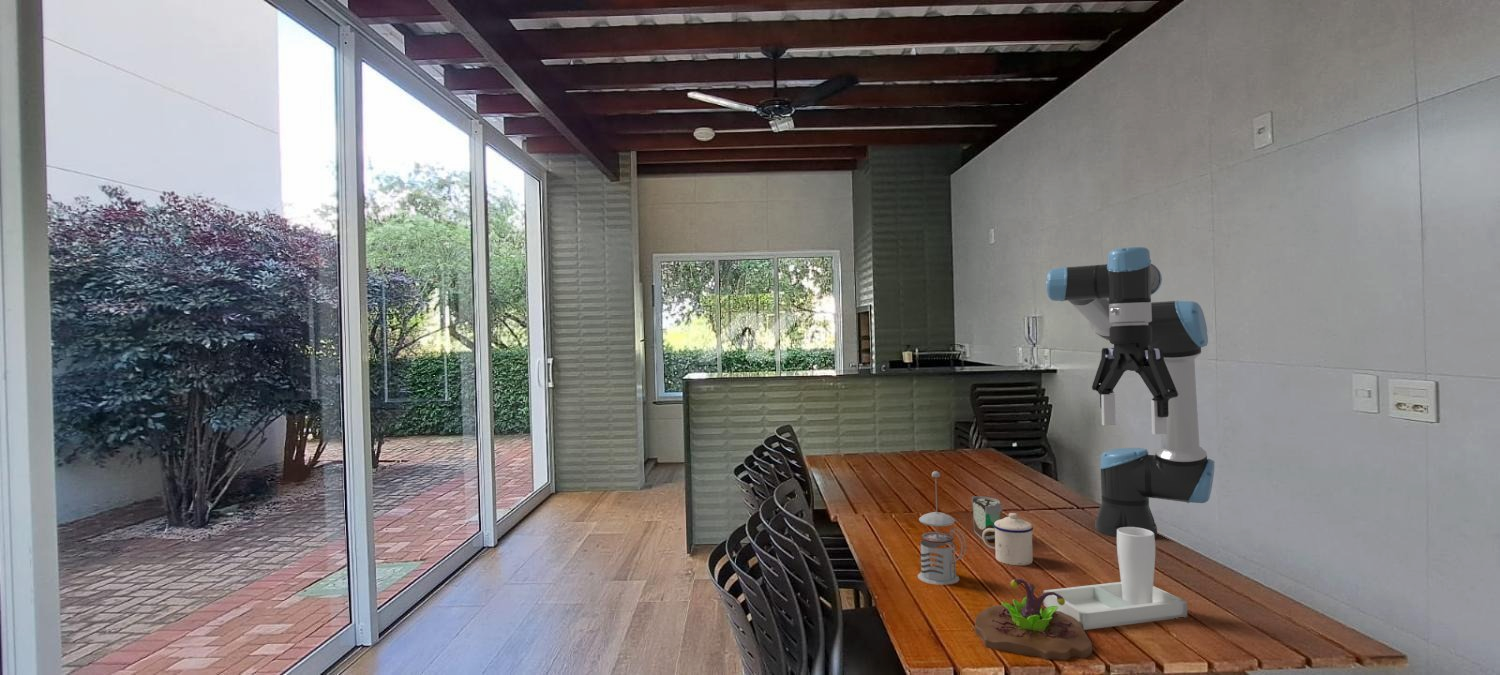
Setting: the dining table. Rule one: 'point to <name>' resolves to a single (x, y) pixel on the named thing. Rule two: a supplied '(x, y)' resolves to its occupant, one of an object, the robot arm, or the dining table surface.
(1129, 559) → the drinking glass
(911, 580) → the dining table surface
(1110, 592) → the divided tray
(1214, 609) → the dining table surface
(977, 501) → the food container
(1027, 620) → the plant
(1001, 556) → the teacup with lid
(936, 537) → the french press
